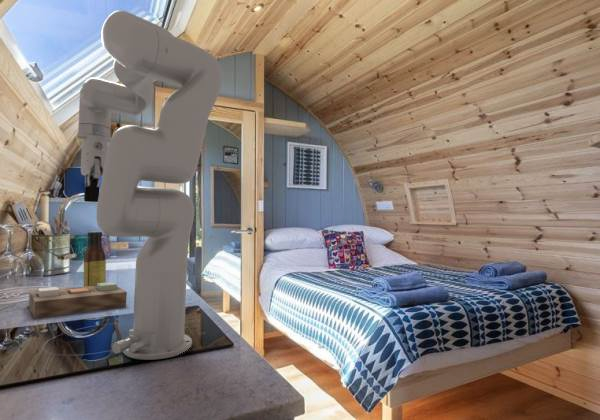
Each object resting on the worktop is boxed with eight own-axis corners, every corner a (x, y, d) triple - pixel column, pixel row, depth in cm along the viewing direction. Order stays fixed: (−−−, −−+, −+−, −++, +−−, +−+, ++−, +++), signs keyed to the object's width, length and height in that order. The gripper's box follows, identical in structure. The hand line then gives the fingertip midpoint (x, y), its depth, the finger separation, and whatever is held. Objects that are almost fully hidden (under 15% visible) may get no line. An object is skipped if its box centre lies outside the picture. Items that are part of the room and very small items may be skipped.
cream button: (56, 297, 98) (56, 286, 98) (58, 300, 95) (59, 289, 95) (37, 299, 96) (38, 288, 96) (39, 302, 93) (40, 291, 93)
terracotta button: (85, 298, 103) (86, 287, 103) (88, 301, 100) (89, 290, 100) (68, 300, 100) (68, 289, 100) (71, 303, 97) (71, 292, 97)
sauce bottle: (109, 291, 120) (112, 231, 120) (97, 295, 113) (99, 232, 114) (91, 290, 120) (93, 230, 121) (77, 294, 114) (80, 231, 114)
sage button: (112, 292, 108) (112, 282, 108) (116, 294, 105) (116, 284, 105) (96, 293, 105) (97, 283, 105) (100, 296, 102) (100, 285, 102)
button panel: (112, 296, 112) (113, 283, 112) (126, 306, 102) (126, 291, 102) (28, 306, 98) (29, 291, 98) (34, 318, 88) (35, 301, 88)
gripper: (117, 132, 94) (114, 202, 94) (102, 140, 105) (100, 202, 105) (84, 126, 89) (81, 200, 89) (73, 135, 100) (70, 201, 100)
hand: (91, 201), depth 97 cm, fingers closed
